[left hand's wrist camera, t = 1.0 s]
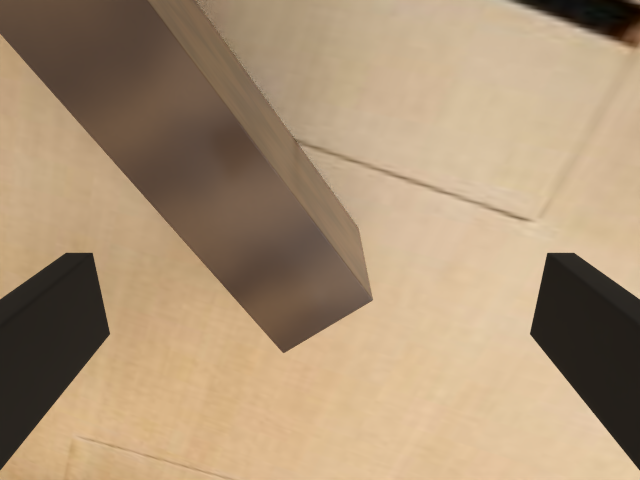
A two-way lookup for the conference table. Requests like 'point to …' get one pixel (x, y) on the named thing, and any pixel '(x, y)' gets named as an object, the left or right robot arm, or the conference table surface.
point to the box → (201, 152)
